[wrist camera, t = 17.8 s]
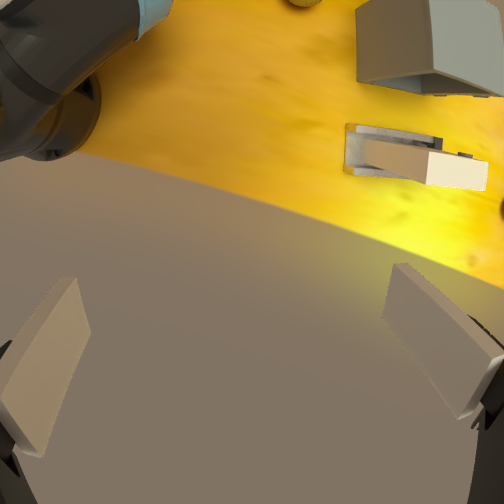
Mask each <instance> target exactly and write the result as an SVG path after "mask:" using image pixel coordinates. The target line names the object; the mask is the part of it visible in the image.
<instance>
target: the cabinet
mask: <svg viewBox="0 0 504 504" xmlns="http://www.w3.org/2000/svg"><path fill="white" fill-rule="evenodd" d="M355 11H356V38H357V82H361V83H367V84H373V85H378V86H383V87H388V88H393V89H398V90H402V91H407V92H411V93H415V94H419V95H433V96H447V95H472V96H474V97H484V98H488V97H489V96H493V97H504V46H503V36H502V28H501V21H500V15H499V9H498V8H496V7H495V6H493V5H491V4H490V3H488V2H487V1H485V0H370V1H368V2H366V3H365V4H363V5H362V6H360V7H359V8H357V9H355Z"/></svg>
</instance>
